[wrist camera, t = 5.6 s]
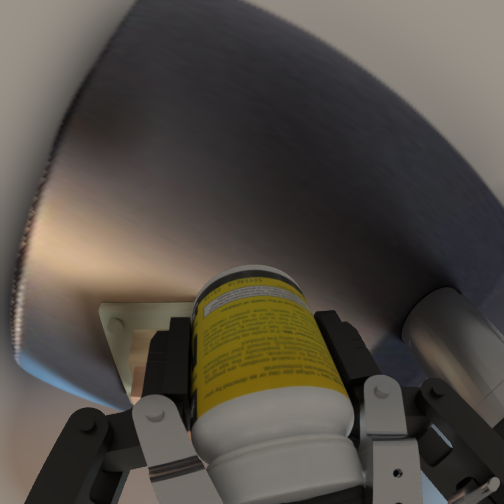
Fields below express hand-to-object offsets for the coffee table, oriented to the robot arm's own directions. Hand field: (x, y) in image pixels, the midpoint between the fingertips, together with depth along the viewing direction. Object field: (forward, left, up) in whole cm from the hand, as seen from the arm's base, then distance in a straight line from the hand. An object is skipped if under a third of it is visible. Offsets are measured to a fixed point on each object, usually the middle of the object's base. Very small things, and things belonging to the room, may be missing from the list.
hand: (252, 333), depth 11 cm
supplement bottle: (0, 0, -2) cm, 2 cm away
